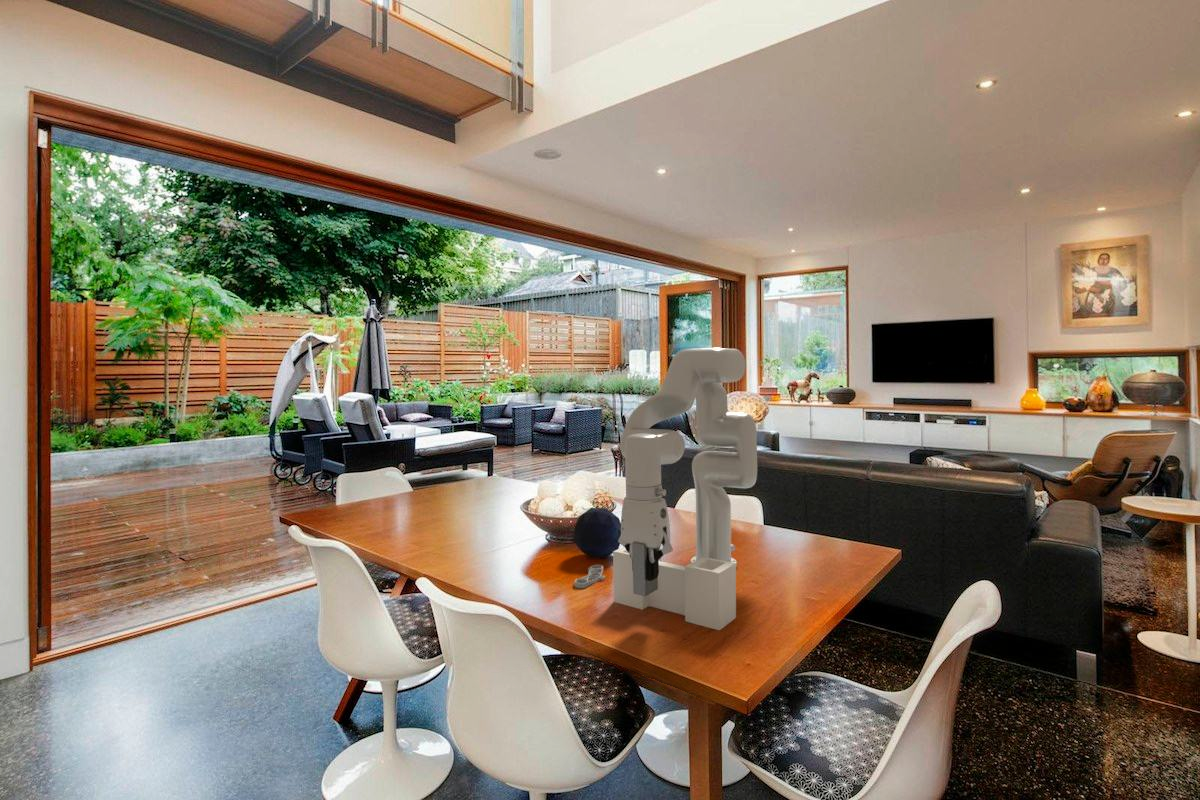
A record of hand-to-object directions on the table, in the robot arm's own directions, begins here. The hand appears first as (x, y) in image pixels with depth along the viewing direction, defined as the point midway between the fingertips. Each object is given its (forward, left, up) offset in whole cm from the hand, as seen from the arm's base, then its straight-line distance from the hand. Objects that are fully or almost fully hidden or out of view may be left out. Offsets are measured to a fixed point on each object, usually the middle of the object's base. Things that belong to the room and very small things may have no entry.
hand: (645, 576), depth 129 cm
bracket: (-15, -27, -11) cm, 33 cm away
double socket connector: (-9, +1, -10) cm, 14 cm away
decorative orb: (-31, -37, -10) cm, 49 cm away
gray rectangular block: (0, 0, -3) cm, 3 cm away
